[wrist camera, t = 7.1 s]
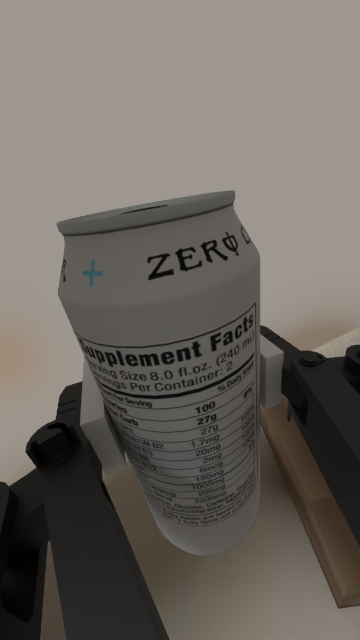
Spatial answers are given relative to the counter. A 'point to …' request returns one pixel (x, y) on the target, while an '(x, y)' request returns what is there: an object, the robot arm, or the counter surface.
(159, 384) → the energy drink can
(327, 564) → the holder block
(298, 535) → the counter surface
